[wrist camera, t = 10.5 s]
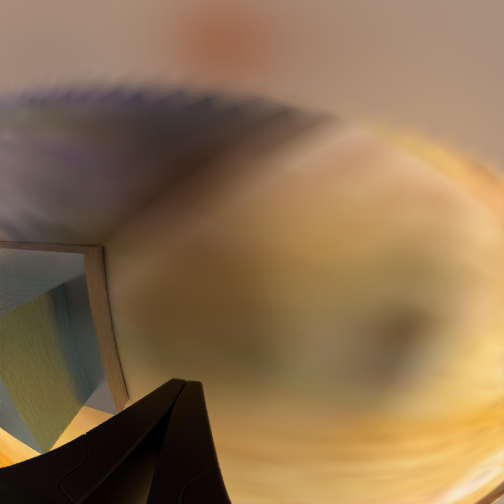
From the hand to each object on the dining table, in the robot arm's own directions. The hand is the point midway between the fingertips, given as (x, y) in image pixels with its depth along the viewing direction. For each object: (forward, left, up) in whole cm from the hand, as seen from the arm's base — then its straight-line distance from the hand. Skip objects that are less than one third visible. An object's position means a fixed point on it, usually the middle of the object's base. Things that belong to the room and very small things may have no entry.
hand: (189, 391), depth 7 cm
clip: (0, +8, -1) cm, 9 cm away
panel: (0, +10, -2) cm, 10 cm away
